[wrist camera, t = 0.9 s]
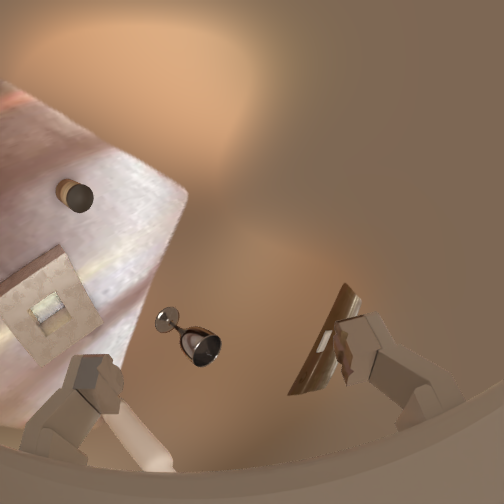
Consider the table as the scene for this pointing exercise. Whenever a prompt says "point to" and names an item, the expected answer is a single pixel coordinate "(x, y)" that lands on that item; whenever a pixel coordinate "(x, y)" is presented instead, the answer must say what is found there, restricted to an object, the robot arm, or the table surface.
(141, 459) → the bottle
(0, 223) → the table surface
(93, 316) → the housing
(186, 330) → the wine glass
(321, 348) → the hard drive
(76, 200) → the plug
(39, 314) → the table surface
